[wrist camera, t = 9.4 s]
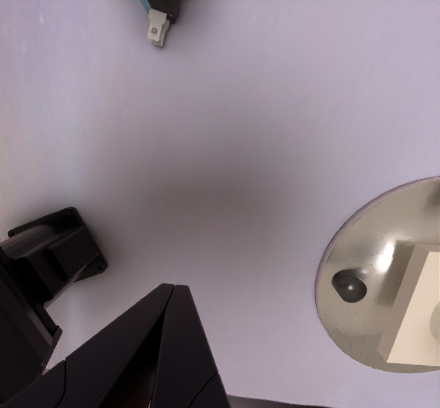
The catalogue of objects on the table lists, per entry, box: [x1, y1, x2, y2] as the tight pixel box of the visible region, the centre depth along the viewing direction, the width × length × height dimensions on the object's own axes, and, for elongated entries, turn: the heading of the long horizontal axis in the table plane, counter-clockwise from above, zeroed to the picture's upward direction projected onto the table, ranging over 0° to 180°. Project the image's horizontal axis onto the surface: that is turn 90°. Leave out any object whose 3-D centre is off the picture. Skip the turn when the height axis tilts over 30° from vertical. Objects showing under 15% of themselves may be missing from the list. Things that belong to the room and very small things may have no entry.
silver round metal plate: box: [315, 177, 440, 373], centre depth 21 cm, size 20×20×3 cm
